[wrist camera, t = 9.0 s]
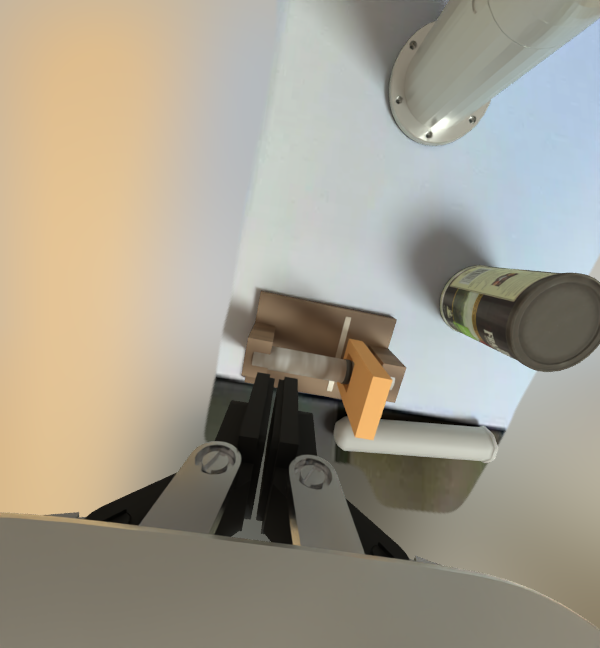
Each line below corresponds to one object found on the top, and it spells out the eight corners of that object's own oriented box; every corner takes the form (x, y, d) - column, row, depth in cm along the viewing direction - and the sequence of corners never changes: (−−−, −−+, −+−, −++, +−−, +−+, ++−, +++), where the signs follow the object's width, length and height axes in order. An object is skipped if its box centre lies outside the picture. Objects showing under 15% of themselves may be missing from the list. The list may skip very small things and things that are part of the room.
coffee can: (477, 344, 44) (562, 388, 30) (425, 312, 42) (489, 343, 28) (522, 287, 42) (635, 306, 28) (469, 251, 40) (561, 252, 26)
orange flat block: (348, 338, 39) (373, 376, 27) (362, 341, 39) (392, 380, 28) (336, 383, 41) (354, 437, 29) (349, 386, 41) (373, 440, 29)
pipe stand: (261, 290, 40) (253, 301, 32) (393, 317, 42) (418, 334, 34) (245, 378, 44) (235, 408, 36) (368, 400, 46) (386, 434, 37)
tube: (332, 457, 44) (486, 469, 45) (338, 436, 41) (503, 449, 42) (329, 428, 48) (470, 439, 49) (335, 407, 45) (484, 420, 47)
